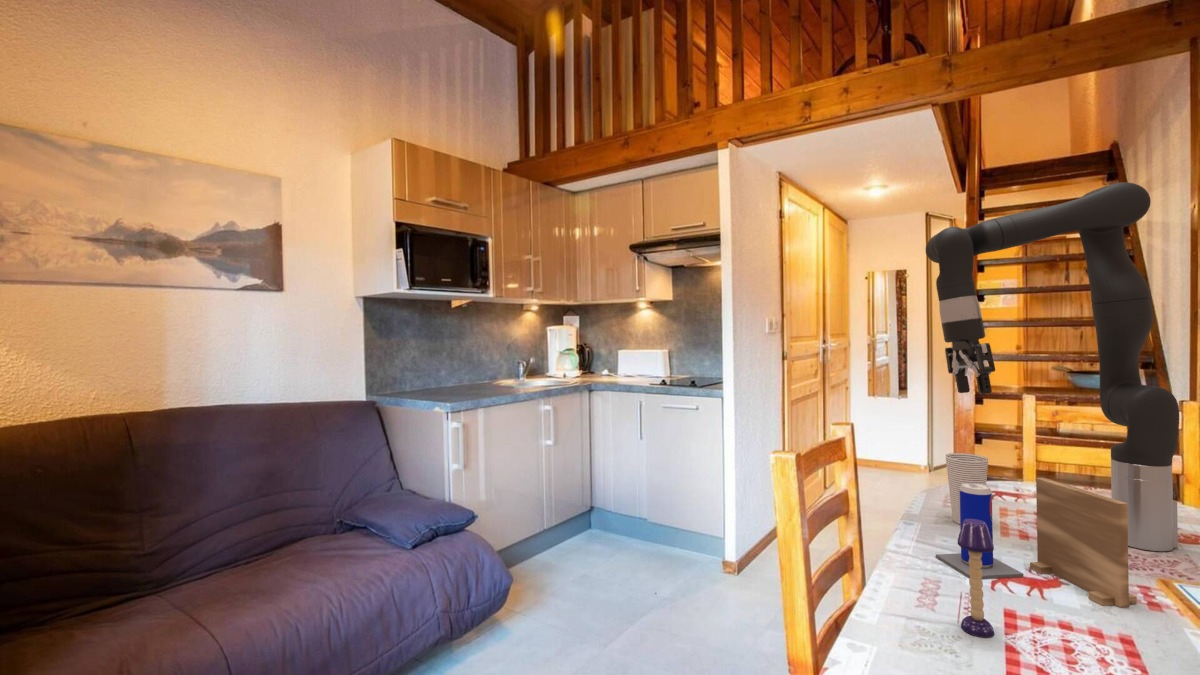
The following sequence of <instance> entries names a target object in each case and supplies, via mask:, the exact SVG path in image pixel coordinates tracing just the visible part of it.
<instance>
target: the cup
mask: <svg viewBox="0 0 1200 675" xmlns="http://www.w3.org/2000/svg"><path fill="white" fill-rule="evenodd" d="M945 464H946V470H947V480H948V489H949V497H950V508H951V515H952V516H951V517H952V522H954V523H956V524H958V525H960V487H961V484H962V483H978V484H984V485H987V481H988V480H987V477H988V468H989V458H988V457H986V456H983V455H980V454H974V453H973V454H972V453H964V452H962V453H961V452H959V453H958V452H954V453H952V452H951V453H947V454H945Z"/></svg>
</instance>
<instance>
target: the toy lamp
mask: <svg viewBox="0 0 1200 675" xmlns="http://www.w3.org/2000/svg"><path fill="white" fill-rule="evenodd" d="M959 530H960V529H959ZM957 545H958V546H959V548H960V549H961V548H963V549H966V550H968V553H969V556H970V558H969V565H970V568H969V575H970V578H968V580H969V581H968V583H969V584H968V585H969V586H970V588H969V596H970V599H969V600H970V601H969V603H970V607H971V608H970V615H968V616H965V617H964V618H963V619H962V620H961V622H960V628H961V629H962V630H963V631H964V632H965V633H967V634H969V635H973V636H976V637H982V638H991V637H993V636H994V635H995V630H994V628H993V625H992V624H991V622H990V621H988V620H987V619H986V618H985V613H984V610H983V609H984V606H985V605H984V600H983V598H984V592H983V591H984V590H983V586H984V583H983V579H981V578H982V570H981V567H982V561H981V557H982V552H984V553H985V552H992V551H993V552H994V550H995V546H994V541H993V542H992V539H991V536H990V533H989V530H988V527H987V524H986V523H985V522H984V521H981V520H977V519H965V520H964V521H963V523H962V527H961V530H960V531H959V534H958V537H957Z"/></svg>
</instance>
